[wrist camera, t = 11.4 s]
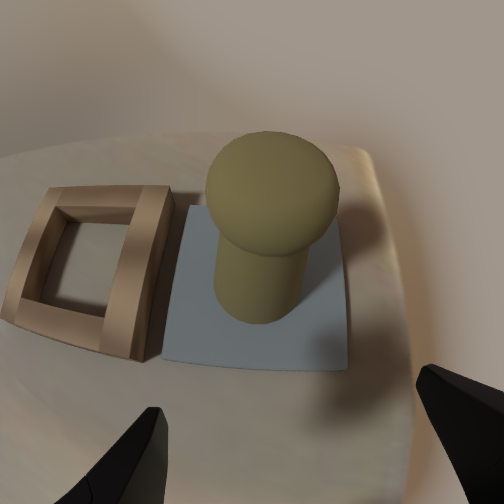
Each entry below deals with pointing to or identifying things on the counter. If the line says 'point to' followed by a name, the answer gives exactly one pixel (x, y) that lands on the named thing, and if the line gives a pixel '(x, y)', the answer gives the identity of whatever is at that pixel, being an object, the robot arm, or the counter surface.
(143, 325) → the frame
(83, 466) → the counter surface
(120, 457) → the robot arm
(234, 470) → the counter surface
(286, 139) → the cork
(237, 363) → the blue gray mat
